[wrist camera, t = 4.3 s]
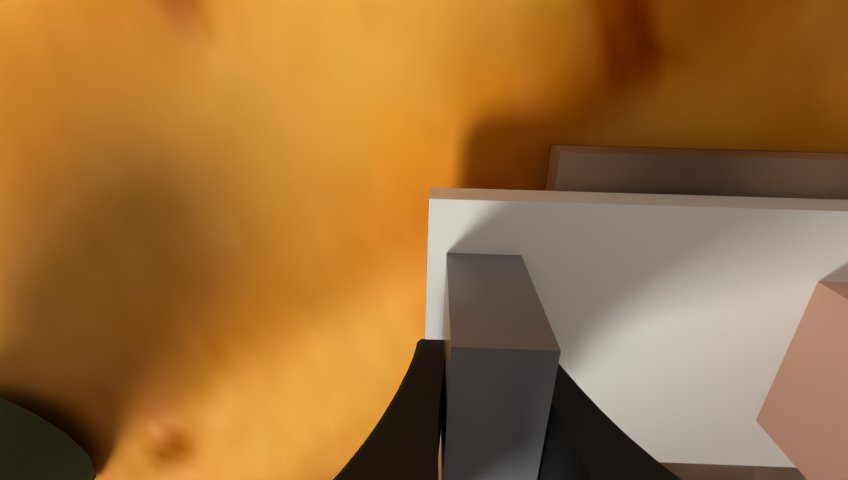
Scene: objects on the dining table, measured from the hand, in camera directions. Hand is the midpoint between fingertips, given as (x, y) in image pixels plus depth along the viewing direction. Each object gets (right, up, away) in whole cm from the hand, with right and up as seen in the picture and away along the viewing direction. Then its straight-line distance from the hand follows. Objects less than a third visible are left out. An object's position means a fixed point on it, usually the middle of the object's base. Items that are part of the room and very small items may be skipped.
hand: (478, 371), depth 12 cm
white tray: (+9, +1, +2) cm, 9 cm away
